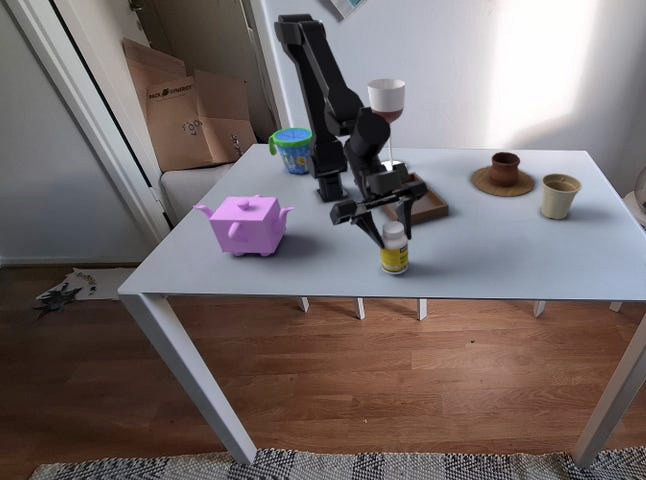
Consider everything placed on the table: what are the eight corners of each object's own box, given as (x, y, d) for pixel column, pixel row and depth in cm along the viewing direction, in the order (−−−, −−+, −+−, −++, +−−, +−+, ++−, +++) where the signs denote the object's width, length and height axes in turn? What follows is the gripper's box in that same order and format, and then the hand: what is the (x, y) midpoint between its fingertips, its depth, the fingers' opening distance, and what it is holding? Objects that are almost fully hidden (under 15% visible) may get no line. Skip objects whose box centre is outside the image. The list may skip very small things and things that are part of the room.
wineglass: (414, 165, 116) (412, 82, 101) (393, 178, 109) (387, 91, 95) (390, 157, 120) (384, 76, 105) (368, 169, 113) (359, 84, 98)
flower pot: (580, 213, 98) (589, 182, 93) (560, 228, 93) (569, 196, 87) (548, 199, 103) (554, 169, 97) (528, 213, 98) (534, 181, 92)
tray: (368, 190, 104) (367, 181, 102) (415, 180, 109) (414, 171, 107) (397, 227, 91) (397, 218, 89) (448, 214, 96) (449, 205, 94)
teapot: (278, 219, 92) (266, 177, 85) (305, 245, 84) (293, 202, 77) (210, 244, 84) (189, 200, 77) (232, 275, 76) (212, 230, 69)
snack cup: (334, 165, 114) (328, 131, 107) (314, 181, 106) (306, 145, 100) (288, 157, 117) (280, 123, 111) (265, 172, 110) (255, 136, 103)
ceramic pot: (547, 186, 109) (552, 162, 104) (498, 203, 101) (501, 178, 96) (505, 162, 120) (508, 139, 115) (458, 175, 112) (459, 152, 107)
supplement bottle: (404, 277, 77) (402, 237, 70) (378, 272, 77) (373, 232, 71) (411, 260, 81) (410, 221, 74) (386, 256, 81) (383, 216, 75)
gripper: (324, 161, 62) (360, 252, 63) (424, 139, 70) (455, 219, 71) (316, 184, 72) (347, 263, 73) (404, 162, 80) (432, 233, 81)
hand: (396, 244), depth 74 cm, fingers closed on supplement bottle, 5 cm apart
